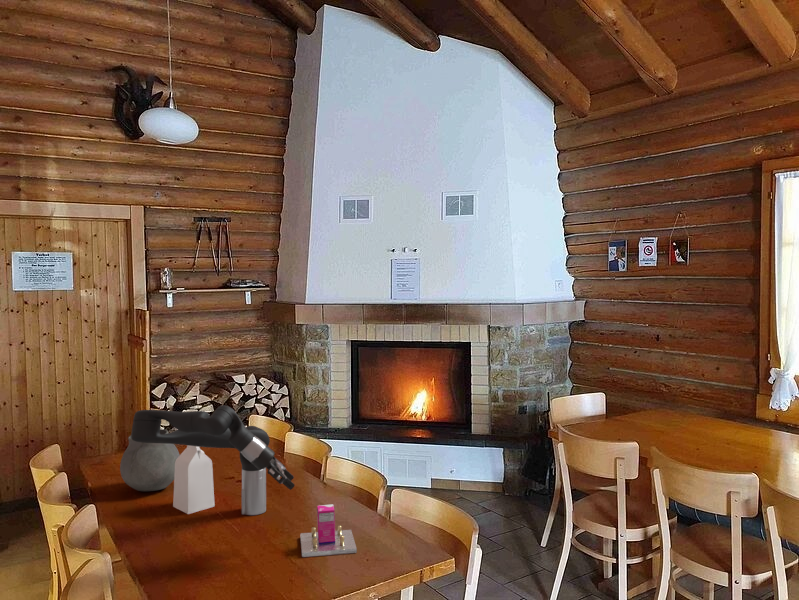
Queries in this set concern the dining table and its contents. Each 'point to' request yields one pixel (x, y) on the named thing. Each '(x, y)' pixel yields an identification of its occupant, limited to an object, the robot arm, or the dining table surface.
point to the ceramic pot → (149, 464)
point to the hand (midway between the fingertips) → (292, 483)
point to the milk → (193, 481)
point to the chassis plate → (341, 545)
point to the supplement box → (326, 523)
